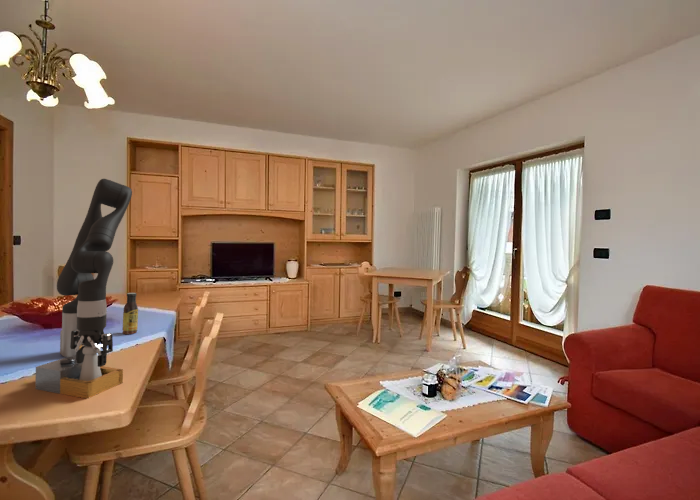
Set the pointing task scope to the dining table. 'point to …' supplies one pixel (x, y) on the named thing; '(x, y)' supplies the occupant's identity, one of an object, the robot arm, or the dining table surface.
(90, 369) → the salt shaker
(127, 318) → the sauce bottle
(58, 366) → the wooden open box
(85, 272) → the robot arm
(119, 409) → the dining table surface
